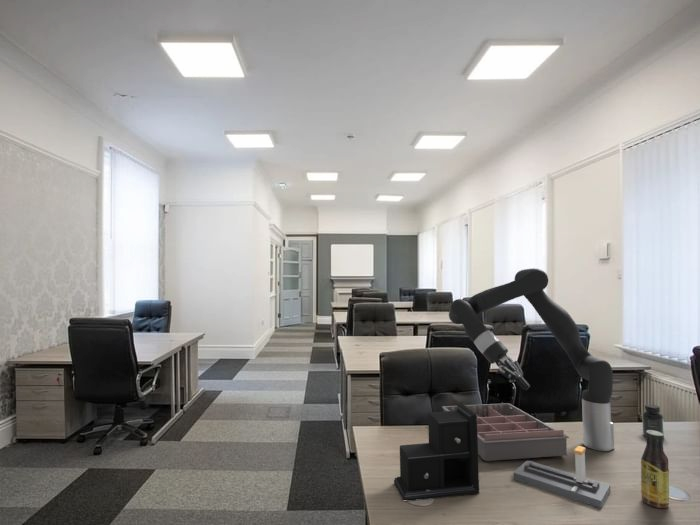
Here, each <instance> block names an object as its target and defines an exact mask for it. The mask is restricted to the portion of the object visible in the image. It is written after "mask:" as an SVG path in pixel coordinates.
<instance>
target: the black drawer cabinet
mask: <svg viewBox="0 0 700 525" xmlns="http://www.w3.org/2000/svg"><path fill="white" fill-rule="evenodd" d="M465 405H466V404H463V403H459V404H457V405H456V406H457V410H456V411H444V410H443V411H442V410H441V411H430V412H428V413H427V414H428V415H427V420H428V421H427V423H428V427H427V429H428V442H425V443H424V442H423V443H412V444H402V445H399V472H400V473H399V475H400V476H397V477H395V478H394V480H393V483H394V486H395V488H396V490H397V492H398V491H399V492H398V494H399V493H400V494H399V496H400V497H401V499H402V501H403V500H412V501H417V500H416V499H422V500H429V498H432V499H439V498H449V497H450V498H451V497H458V496H467V495H477V494H479V495H480V473H479V468H480V467H479V455H478V435H477V414H476V413H475V412H473V411H472V410H470V409H469V408H467V407H466V406H465Z"/></svg>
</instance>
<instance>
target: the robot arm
mask: <svg viewBox="0 0 700 525" xmlns="http://www.w3.org/2000/svg"><path fill="white" fill-rule="evenodd" d="M548 284H549V277H548V274H547V273H546V271H544V270H542V269H539V268H535V267H534V268H526V269H521V270H519V271H518V272H516V273H515V276H514V280H513V281H510V282H507V283H504V284H501V285H498V286H494V287H491V288H488V289H485V290H482V291H481V292H478V293H476V294H474V295H472V296H471V297H470V299H469V300H468V301H466V300H464V299H461V298H459V299H458V298H457V299H455V300H453V301H452V302H451V304H450V308H449V311H448V318H449V320H450V321H451V323H453V324H456V325H463V328H464V333H465V335H466V336H467V337H468V338H469V339H470V340H471V341H472V343H473V344H474V345H475V346H476V348H477V350H478V351H479V352H480V353H481V354H482V355H483V357H484V358H485V359H486V360H487V361H488V362H489V363H490V364H491V365H493V364H495V366H497V367H498V369H497V372H498V374H500V375H502V376H504V378H506V379H508V380H509V381H511V382H513V381H514V382H516V384H518V385H519V387H520V388H521V389H522V390H523V391H527V390H528V389H529V388H530V387H531V384H529V382H528V381H527V380H526V379H525V378H524V372H523V369H522V368H521V365H520V363H519V362H518V361H517V360H513V359H512V358H511V357H510V356H508V352H509V349H508V348H507V347H506V346H505V344H503V343H502V341H500V340H499V338H498V337H497V336H496V335H495V334H494V333H493V332H492V331H491V330H489V328H488V327H487V326H486V325H485V324H484V323H483V322H482V321H481V319H480V318H479V316H478V315H480V314H481V313H484V312H486V311H489V310H491V309H494V308H496V307H497V306H501V305H502V304H505V303H507V302H510V301H512V300H514V299H518V298H520V297H523V296H524V298H525V299H526V300H527V302H528V303H530V305H531V306H532V307H533V309H534V310H535V312H536V313H537V314H538V316H539V318H541V320H542V321H543V323H544V324H545V326H546V327H547V329H548V330H549V331H550V333H551V334H552V336H553V337H554V338H555V339H556V341H557V343H558V344H559V345H560V346H561V348H562V349H563V351H565V353H566V355H567V356H568V358H569V360H570V361H571V364H572V365H573V367H574V369H575V370H576V372H577V373H578V375H579V376H580V377H581V378H583V379H584V380H586V381H588V389H584V390H582V392H581V406H582V408H581V409H582V410H581V411H582V415H581V416H582V444H583V445H584V446H585V448H586V447H587V448H589V449H592V450H595V451H600V452H601V451H602V452H609V451H611V450H615V424H614V422H612V417H611V416H612V413H611V397H612V394H613V387H614V386H613V384H614V383H613V382H614V380H613V379H614V375H613V368H612V366H611V364H610V363H609V362H608V361H607V360H604V359H601V358H598V357H594V356H593V355H592V354H591V353H590V352H589V351H588V350H587V348H586V347H585V346H584V344H583V343H582V339H581V334H580V329H579V327H578V324H577V323H576V322H575V320H574V319H573V317H572V316H571V314H570V313H569V312H568V311H567V310H566V309H564V308H563V307H562V306H561V305H560V304H558V302H556V301H554V300H553V299H552V298H550V297H549V295H547V293H546V292H545V289H546V288H547V286H548Z"/></svg>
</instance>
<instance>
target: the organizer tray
mask: <svg viewBox="0 0 700 525" xmlns="http://www.w3.org/2000/svg"><path fill="white" fill-rule="evenodd" d="M464 405H465V406H466V407H467V408H469V409H470V410H472V411H473V412H475V413H476V414H477V435H478V457H480V458H482V460H484V461H485V462H486V461H487V462H491V461H502V460H519V459H532V458H533V459H534V458H547V457H548V458H549V457H561V456H562V457H564V456H568V448H567V446H568V445H567V439H569V438H570V437H569V436H568V435H566V434H565V433H564V432H565V431H564V429H556V428H554V427H553V426H550V425H548V424H547V423H545V422H544V421H541V420H540V419H537V418H536V417H534V416H532V415H530V414H529V413H528V412H525V411H523V410H522V409H520V408H518V407H516V406H515V405H513V404H512V403H504V402H503V403H489V404H484V403H483V404H467V405H466V404H464ZM441 408H442V409H443V411H456V410H457V405H448V406H447V405H443V406H442V405H441Z"/></svg>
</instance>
